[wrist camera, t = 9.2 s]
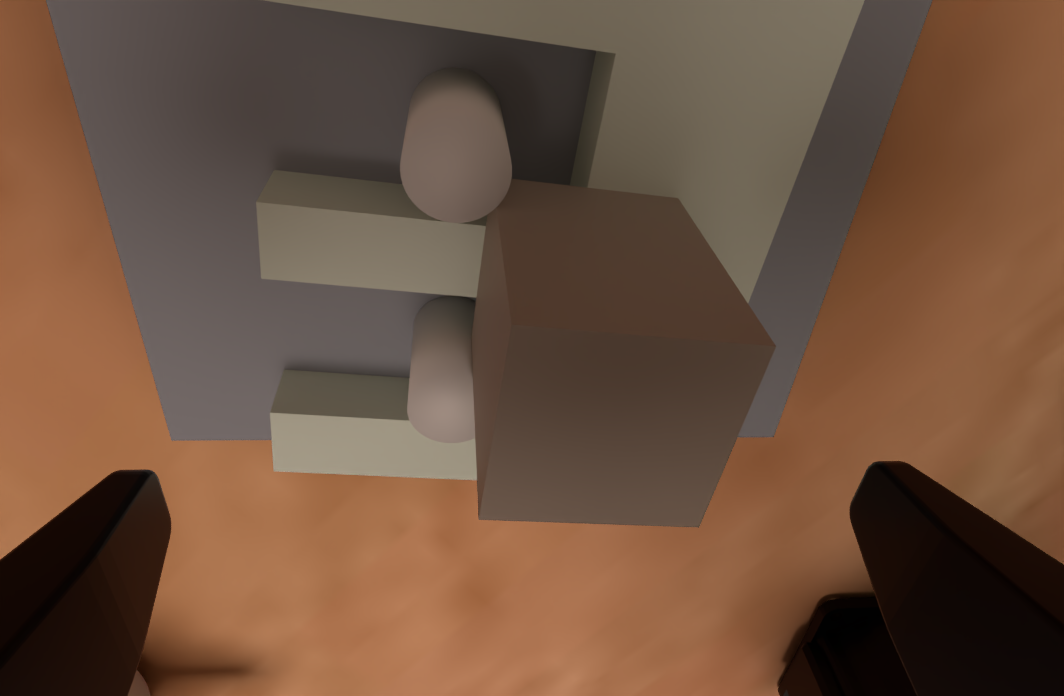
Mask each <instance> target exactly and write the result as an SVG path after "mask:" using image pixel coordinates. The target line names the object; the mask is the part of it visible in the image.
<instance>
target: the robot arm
mask: <svg viewBox="0 0 1064 696" xmlns="http://www.w3.org/2000/svg"><path fill="white" fill-rule="evenodd" d="M850 520H851V524H852V527H853V530H854V533H855V536H856V539H857V542H858V545H859V548H860V551H861V554H862V557H863V560H864V563H865V566H866V569H867V572H868V575H869V578H870V581H871V584H872V587H873V590H874V593H875V596H876V598H852V599H833V600H829V601H827V602H825V603H823V604H822V605H821V606H820V607H819V609H818V611H817V613H816V615H815V617H814V619H813V621H812V623H811V625H810V627H809V629H808V631H807V633H806V635H805V637H804V639H803V641H802V643H801V645H800V646H799V648H798V650H797V652H796V654H795V656H794V658H793V660H792V662H791V664H790V666H789V668H788V670H787V672H786V674H785V676H784V678H783V680H782V682H781V684H780V686H779V688H778V692H779V695H780V696H1064V565H1063V564H1062V563H1060V562H1059V561H1057V560H1056V559H1054V558H1053V557H1051V556H1050V555H1048V554H1046V553H1045V552H1043V551H1042V550H1040V549H1039V548H1037V547H1036V546H1034V545H1033V544H1031V543H1030V542H1028V541H1026V540H1025V539H1023V538H1022V537H1020V536H1019V535H1017V534H1016V533H1014V532H1013V531H1011V530H1010V529H1008V528H1006V527H1005V526H1003V525H1002V524H1000V523H999V522H997V521H996V520H994V519H993V518H991V517H990V516H988V515H987V514H985V513H983V512H982V511H980V510H979V509H977V508H976V507H974V506H973V505H971V504H970V503H968V502H967V501H965V500H963V499H962V498H960V497H959V496H957V495H956V494H954V493H953V492H951V491H950V490H948V489H947V488H945V487H943V486H942V485H940V484H939V483H937V482H936V481H934V480H933V479H931V478H930V477H928V476H927V475H925V474H923V473H922V472H920V471H919V470H917V469H916V468H914V467H913V466H911V465H910V464H908V463H905V462H901V461H878V462H874V463H873V464H871V465H870V466H869V467H868V469H867V470H866V472H865V474H864V477H863V479H862V481H861V483H860V485H859V487H858V489H857V491H856V493H855V495H854V497H853V499H852V502H851V505H850ZM170 534H171V518H170V514H169V511H168V507H167V504H166V501H165V498H164V495H163V491H162V488H161V485H160V482H159V479H158V477H157V475H156V474H155V473H154V472H153V471H151V470H118V471H115V472H113V473H111V474H110V475H108V476H107V477H106V478H104V479H103V480H102V481H100V482H99V483H98V484H97V485H95V486H94V487H93V488H91V489H90V490H89V491H88V492H86V493H85V494H84V495H83V496H81V497H80V498H79V499H77V500H76V501H75V502H74V503H72V504H71V505H70V506H68V507H67V508H66V509H65V510H63V511H62V512H61V513H59V514H58V515H57V516H56V517H54V518H53V519H52V520H50V521H49V522H48V523H47V524H45V525H44V526H43V527H42V528H40V529H39V530H38V531H36V532H35V533H34V534H33V535H31V536H30V537H29V538H27V539H26V540H25V541H24V542H22V543H21V544H20V545H18V546H17V547H16V548H15V549H13V550H12V551H11V552H9V553H8V554H7V555H6V556H4V557H3V558H2V559H1V560H0V696H128V694H129V691H130V688H131V685H132V683H133V680H134V677H135V674H136V671H137V668H138V665H139V662H140V659H141V655H142V651H143V647H144V644H145V640H146V636H147V632H148V627H149V623H150V619H151V615H152V611H153V606H154V602H155V598H156V594H157V590H158V585H159V581H160V577H161V573H162V569H163V564H164V560H165V556H166V552H167V548H168V543H169V539H170Z"/></svg>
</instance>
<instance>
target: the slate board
mask: <svg viewBox="0 0 1064 696" xmlns="http://www.w3.org/2000/svg"><path fill="white" fill-rule="evenodd" d="M46 2H47V6H48V9H49V13H50V16H51V20H52V23H53V27H54V30H55V34H56V37H57V41H58V44H59V48H60V51H61V55H62V58H63V62H64V65H65V69H66V72H67V76H68V79H69V83H70V86H71V90H72V93H73V97H74V100H75V104H76V107H77V111H78V114H79V118H80V121H81V125H82V128H83V132H84V135H85V139H86V142H87V146H88V149H89V153H90V156H91V160H92V163H93V167H94V170H95V174H96V177H97V181H98V184H99V188H100V191H101V195H102V198H103V202H104V205H105V209H106V212H107V216H108V219H109V223H110V226H111V230H112V233H113V237H114V240H115V244H116V247H117V251H118V254H119V258H120V261H121V265H122V268H123V272H124V275H125V279H126V282H127V286H128V289H129V293H130V297H131V300H132V304H133V307H134V311H135V314H136V318H137V321H138V325H139V328H140V332H141V335H142V339H143V342H144V346H145V349H146V353H147V356H148V360H149V363H150V367H151V370H152V374H153V377H154V381H155V384H156V388H157V391H158V395H159V398H160V402H161V405H162V409H163V412H164V416H165V419H166V423H167V426H168V430H169V433H170V437H171V440H272V437H271V422H270V411H271V408H272V405H273V402H274V398H275V395H276V392H277V389H278V386H279V383H280V380H281V377H282V374H283V371H284V370H298V371H313V372H328V373H343V374H357V375H372V376H387V377H402V378H410V379H409V391H408V404H407V413H408V417H409V420H410V422H411V424H412V425H413V427H414V428H415V429H416V430H417V431H418V432H419V433H420V434H422V435H423V436H425V437H427V438H429V439H431V440H434V441H438V442H443V443H460V442H465V441H469V440H472V439H474V438H475V420H474V396H473V372H472V348H471V335H472V327H473V320H474V312H475V305H476V298H475V297H463V296H452V295H441V294H429V293H418V292H407V291H395V290H384V289H372V288H361V287H350V286H338V285H327V284H316V283H304V282H293V281H281V280H270V279H261V269H260V254H259V239H258V223H257V208H256V201H257V199H258V198H259V196H260V194H261V192H262V191H263V189H264V187H265V185H266V183H267V182H268V180H269V178H270V176H271V175H272V173H273V171H274V170H280V171H289V172H298V173H307V174H316V175H324V176H333V177H342V178H351V179H360V180H369V181H378V182H387V183H395V184H403V186H404V189H405V191H406V193H407V195H408V197H409V198H410V199H411V201H412V202H413V203H414V204H415V205H416V206H417V207H418V208H419V209H420V210H421V211H423V212H424V213H426V214H427V215H429V216H431V217H433V218H435V219H438V220H441V221H445V222H451V223H464V222H470V221H474V220H477V219H479V218H482V217H484V216H486V215H487V214H489V213H490V212H492V211H493V210H494V209H495V208H496V207H497V206H498V205H499V204H500V203H501V202H502V200H503V199H504V197H505V196H506V194H507V192H508V189H509V187H510V183H511V179H518V180H527V181H536V182H544V183H553V184H561V185H570V181H571V176H572V171H573V166H574V161H575V156H576V151H577V146H578V141H579V136H580V131H581V126H582V120H583V115H584V110H585V105H586V100H587V95H588V90H589V85H590V80H591V75H592V70H593V65H594V60H595V55H596V51H595V50H588V49H582V48H575V47H569V46H562V45H555V44H549V43H542V42H535V41H529V40H522V39H516V38H509V37H502V36H496V35H489V34H482V33H476V32H469V31H463V30H456V29H449V28H443V27H436V26H429V25H423V24H416V23H410V22H403V21H396V20H390V19H383V18H376V17H370V16H363V15H356V14H350V13H343V12H337V11H330V10H323V9H317V8H310V7H303V6H297V5H290V4H284V3H277V2H270V1H264V0H46ZM931 3H932V0H865V1H864V3H863V6H862V9H861V11H860V14H859V16H858V19H857V22H856V24H855V27H854V29H853V32H852V35H851V37H850V40H849V42H848V45H847V48H846V50H845V53H844V55H843V58H842V61H841V63H840V66H839V68H838V71H837V74H836V76H835V79H834V81H833V84H832V87H831V89H830V92H829V94H828V97H827V100H826V102H825V105H824V107H823V110H822V113H821V115H820V118H819V120H818V123H817V126H816V128H815V131H814V134H813V136H812V139H811V141H810V144H809V147H808V149H807V152H806V154H805V157H804V160H803V162H802V165H801V167H800V170H799V173H798V175H797V178H796V180H795V183H794V186H793V188H792V191H791V193H790V196H789V199H788V201H787V204H786V206H785V209H784V212H783V214H782V217H781V219H780V222H779V225H778V227H777V230H776V232H775V235H774V238H773V240H772V243H771V245H770V248H769V251H768V253H767V256H766V258H765V261H764V264H763V266H762V269H761V271H760V274H759V277H758V279H757V282H756V284H755V287H754V290H753V292H752V295H751V297H750V300H749V303H748V304H749V306H750V307H751V309H752V310H753V312H754V313H755V315H756V317H757V318H758V320H759V321H760V323H761V324H762V326H763V327H764V329H765V330H766V332H767V333H768V335H769V336H770V338H771V339H772V341H773V342H774V344H775V345H776V348H775V351H774V353H773V355H772V358H771V360H770V362H769V365H768V367H767V369H766V372H765V374H764V376H763V379H762V381H761V383H760V386H759V388H758V390H757V393H756V395H755V397H754V400H753V402H752V404H751V407H750V409H749V411H748V414H747V416H746V418H745V421H744V423H743V425H742V428H741V430H740V432H739V435H738V437H774V434H775V432H776V429H777V426H778V423H779V421H780V418H781V415H782V412H783V410H784V407H785V404H786V401H787V399H788V396H789V393H790V390H791V388H792V385H793V382H794V379H795V377H796V374H797V371H798V368H799V366H800V363H801V360H802V357H803V355H804V352H805V349H806V346H807V344H808V341H809V338H810V335H811V333H812V330H813V327H814V324H815V322H816V319H817V316H818V313H819V311H820V308H821V305H822V302H823V300H824V297H825V294H826V291H827V289H828V286H829V283H830V280H831V278H832V275H833V272H834V269H835V267H836V264H837V261H838V258H839V256H840V253H841V250H842V247H843V245H844V242H845V239H846V236H847V234H848V231H849V228H850V225H851V223H852V220H853V217H854V214H855V212H856V209H857V206H858V203H859V201H860V198H861V195H862V192H863V190H864V187H865V184H866V181H867V179H868V176H869V173H870V170H871V168H872V165H873V162H874V159H875V157H876V154H877V151H878V148H879V146H880V143H881V140H882V137H883V135H884V132H885V129H886V126H887V124H888V121H889V118H890V115H891V113H892V110H893V107H894V104H895V102H896V99H897V96H898V93H899V91H900V88H901V85H902V82H903V80H904V77H905V74H906V71H907V69H908V66H909V63H910V60H911V58H912V55H913V52H914V49H915V47H916V44H917V41H918V38H919V36H920V33H921V30H922V27H923V25H924V22H925V19H926V16H927V14H928V11H929V8H930V6H931Z"/></svg>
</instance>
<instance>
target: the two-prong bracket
mask: <svg viewBox="0 0 1064 696" xmlns="http://www.w3.org/2000/svg"><path fill="white" fill-rule="evenodd" d="M264 1H270V2H277V3H284V4H290V5H297V6H303V7H310V8H317V9H323V10H330V11H337V12H343V13H350V14H356V15H363V16H370V17H376V18H383V19H390V20H396V21H403V22H410V23H416V24H423V25H429V26H436V27H443V28H449V29H456V30H463V31H469V32H476V33H482V34H489V35H496V36H502V37H509V38H516V39H522V40H529V41H535V42H542V43H549V44H555V45H562V46H569V47H575V48H582V49H588V50H595V51H596V55H595V60H594V65H593V70H592V75H591V80H590V85H589V90H588V95H587V100H586V105H585V110H584V115H583V120H582V126H581V131H580V136H579V141H578V146H577V151H576V156H575V161H574V166H573V171H572V176H571V181H570V185H561V184H553V183H544V182H536V181H527V180H518V179H511V183H510V187H509V189H508V192H507V194H506V196H505V197H504V199H503V200H502V202H501V203H500V204H499V205H498V206H497V207H496V208H495V209H494V210H493V211H492V212H490V213H489V214H487V215H486V216H484V217H482V218H479V219H477V220H474V221H470V222H464V223H451V222H445V221H441V220H438V219H435V218H433V217H431V216H429V215H427V214H426V213H424V212H423V211H421V210H420V209H419V208H418V207H417V206H416V205H415V204H414V203H413V202H412V201H411V199H410V198H409V197H408V195H407V193H406V191H405V189H404V186H403V184H395V183H387V182H378V181H369V180H360V179H351V178H342V177H333V176H324V175H316V174H307V173H298V172H289V171H280V170H274V171H273V173H272V175H271V176H270V178H269V180H268V182H267V183H266V185H265V187H264V189H263V191H262V192H261V194H260V196H259V198H258V199H257V201H256V208H257V223H258V239H259V254H260V269H261V279H270V280H281V281H293V282H304V283H316V284H327V285H338V286H350V287H361V288H372V289H384V290H395V291H407V292H418V293H429V294H441V295H452V296H463V297H475V298H476V305H475V312H474V320H473V327H472V335H471V348H472V372H473V396H474V420H475V438H474V439H472V440H469V441H465V442H460V443H443V442H438V441H434V440H431V439H429V438H427V437H425V436H423V435H422V434H420V433H419V432H418V431H417V430H416V429H415V428H414V427H413V425H412V424H411V422H410V420H409V417H408V413H407V404H408V391H409V379H410V378H402V377H387V376H372V375H357V374H343V373H328V372H313V371H298V370H284V371H283V374H282V377H281V380H280V383H279V386H278V389H277V392H276V395H275V398H274V402H273V405H272V408H271V411H270V422H271V437H272V452H273V468H274V471H280V472H302V473H325V474H347V475H370V476H392V477H415V478H437V479H459V480H477V492H478V516H479V520H503V521H532V522H560V523H589V524H617V525H645V526H674V527H699V526H700V524H701V521H702V519H703V517H704V514H705V512H706V510H707V507H708V505H709V503H710V500H711V498H712V496H713V493H714V491H715V489H716V486H717V484H718V482H719V479H720V477H721V475H722V472H723V470H724V468H725V465H726V463H727V461H728V458H729V456H730V454H731V451H732V449H733V447H734V444H735V442H736V439H737V437H738V435H739V432H740V430H741V428H742V425H743V423H744V421H745V418H746V416H747V414H748V411H749V409H750V407H751V404H752V402H753V400H754V397H755V395H756V393H757V390H758V388H759V386H760V383H761V381H762V379H763V376H764V374H765V372H766V369H767V367H768V365H769V362H770V360H771V358H772V355H773V353H774V351H775V348H776V345H775V344H774V342H773V341H772V339H771V338H770V336H769V335H768V333H767V332H766V330H765V329H764V327H763V326H762V324H761V323H760V321H759V320H758V318H757V317H756V315H755V313H754V312H753V310H752V309H751V307H750V306H749V304H748V303H749V300H750V297H751V295H752V292H753V290H754V287H755V284H756V282H757V279H758V277H759V274H760V271H761V269H762V266H763V264H764V261H765V258H766V256H767V253H768V251H769V248H770V245H771V243H772V240H773V238H774V235H775V232H776V230H777V227H778V225H779V222H780V219H781V217H782V214H783V212H784V209H785V206H786V204H787V201H788V199H789V196H790V193H791V191H792V188H793V186H794V183H795V180H796V178H797V175H798V173H799V170H800V167H801V165H802V162H803V160H804V157H805V154H806V152H807V149H808V147H809V144H810V141H811V139H812V136H813V134H814V131H815V128H816V126H817V123H818V120H819V118H820V115H821V113H822V110H823V107H824V105H825V102H826V100H827V97H828V94H829V92H830V89H831V87H832V84H833V81H834V79H835V76H836V74H837V71H838V68H839V66H840V63H841V61H842V58H843V55H844V53H845V50H846V48H847V45H848V42H849V40H850V37H851V35H852V32H853V29H854V27H855V24H856V22H857V19H858V16H859V14H860V11H861V9H862V6H863V3H864V1H865V0H264Z"/></svg>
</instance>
